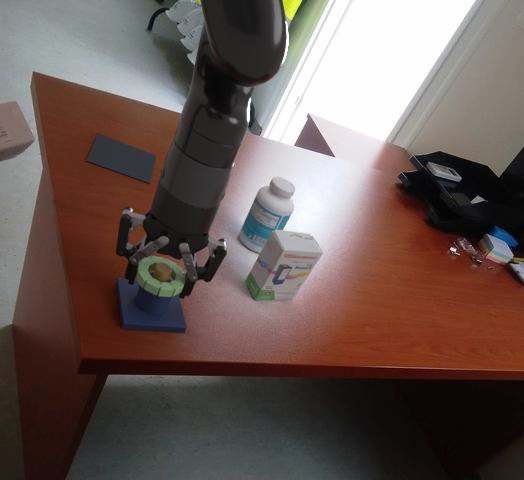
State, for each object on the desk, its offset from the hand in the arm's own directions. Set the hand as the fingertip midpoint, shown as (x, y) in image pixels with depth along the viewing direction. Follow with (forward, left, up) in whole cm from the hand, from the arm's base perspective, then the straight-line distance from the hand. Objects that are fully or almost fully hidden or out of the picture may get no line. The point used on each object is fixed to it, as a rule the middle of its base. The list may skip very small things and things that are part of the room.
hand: (156, 287), depth 64 cm
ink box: (+20, +12, -5) cm, 24 cm away
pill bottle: (+18, +26, -5) cm, 32 cm away
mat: (-10, +40, -4) cm, 42 cm away
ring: (0, 0, +1) cm, 1 cm away
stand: (0, 0, -4) cm, 4 cm away
